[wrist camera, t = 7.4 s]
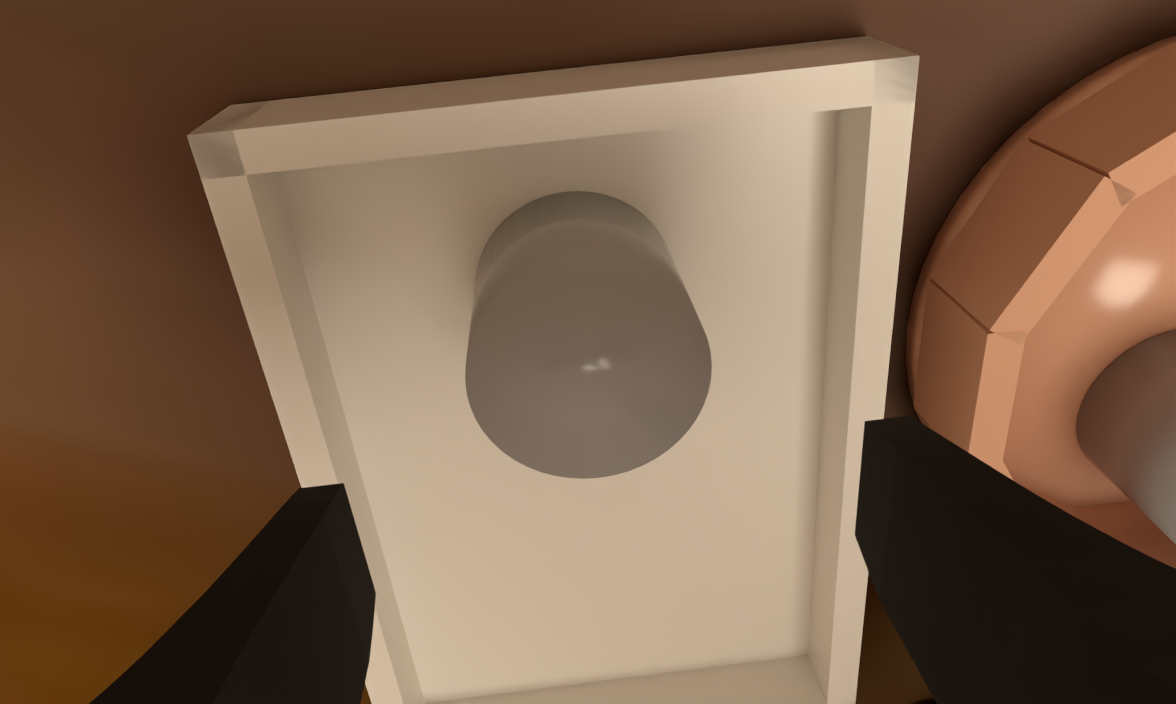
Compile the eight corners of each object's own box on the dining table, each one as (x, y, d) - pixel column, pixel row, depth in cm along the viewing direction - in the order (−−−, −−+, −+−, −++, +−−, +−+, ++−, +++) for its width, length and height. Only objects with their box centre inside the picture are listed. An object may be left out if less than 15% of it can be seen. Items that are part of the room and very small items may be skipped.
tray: (824, 649, 25) (853, 719, 23) (406, 701, 25) (395, 777, 23) (867, 36, 17) (919, 55, 15) (230, 104, 17) (186, 135, 14)
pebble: (678, 362, 19) (713, 464, 16) (491, 384, 19) (485, 491, 16) (670, 179, 17) (709, 250, 14) (460, 203, 17) (445, 280, 14)
